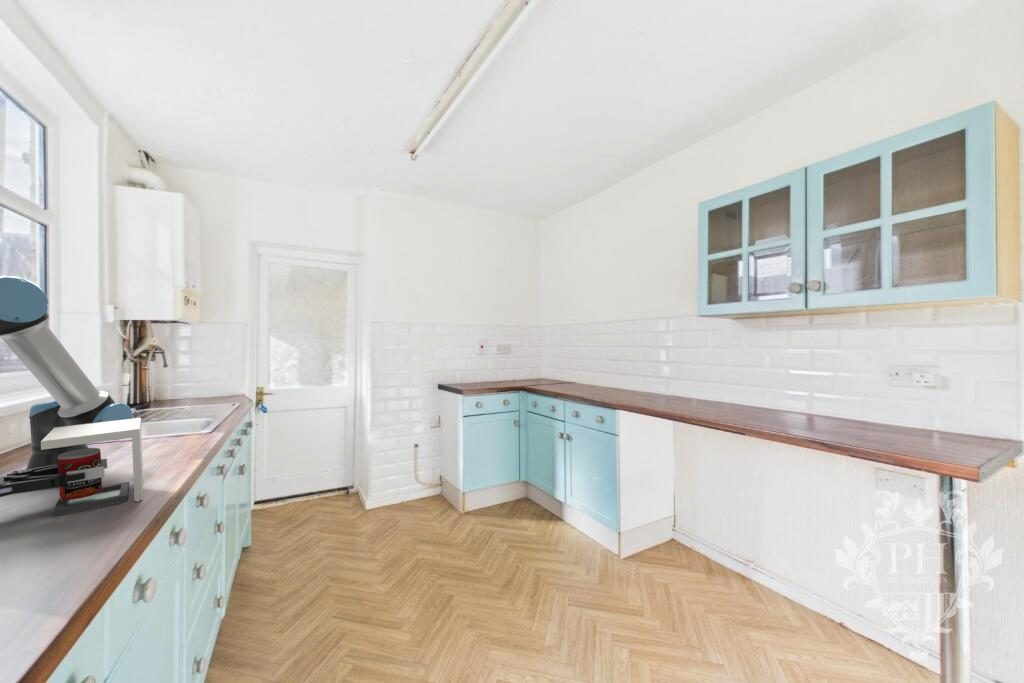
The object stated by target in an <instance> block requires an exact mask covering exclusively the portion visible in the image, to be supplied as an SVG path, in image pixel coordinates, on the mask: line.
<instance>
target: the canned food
mask: <svg viewBox="0 0 1024 683" xmlns="http://www.w3.org/2000/svg"><path fill="white" fill-rule="evenodd" d="M101 454H102V453H101V448H97V447H88V448H86V449H78V450H73V451H68V452H65V453H62V454H60V455H58V474H66V475H67V472H69V471H76V470H82V469H88V468H94V467H100V466H101V459H102V455H101ZM102 479H103V477H101V478H95V479H90V480H84V481H78V482H73V483H67V482H66V487H64V488H61V487H59V488H58V493H59V494H58V495H59V498H61V499H63V500H73V499H79V498H84V497H88V496H91V495H94V494H96V493H98V492H100V491H101V488H102V486H103V481H102Z"/></svg>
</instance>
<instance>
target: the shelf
mask: <svg viewBox="0 0 1024 683" xmlns="http://www.w3.org/2000/svg"><path fill="white" fill-rule="evenodd" d="M124 439H131V445H132V446H131V447H132V450H131V451H132V471H133V472H132V473H133V493H134V494H133V496H134V502H135V501H137V500H142V499H143V497H144V496H143V495H144V467H143V466H144V465H143V464H144V461H143V438H142V418H141V417H136V418H135V417H133V419H126V420H117V421H108V422H99V423H91V424H82V425H73V426H64V427H56V428H54V429H53V430H52V431H51V432H50V433H49V434H48V435H47V436H46V437H45V438H44V439H43V440H42V441H41V450H44V449H52V448H59V447H66V446H73V445H81V444H87V445H88V444H96V443H102V442H110V441H116V440H124ZM142 501H143V500H142Z"/></svg>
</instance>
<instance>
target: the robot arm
mask: <svg viewBox="0 0 1024 683" xmlns="http://www.w3.org/2000/svg"><path fill="white" fill-rule="evenodd" d="M48 305H49V299H48V296H47V294H46V292H45V291H44V290H43V289H42V288H41V287H40V286H39V285H37V284H36V283H34V282H33V281H31V280H29V279H26V278H22V277H19V276H13V275H11V276H9V275H4V274H3V275H2V274H0V339H2V340H3V342H5V344H6V345H7V346H8V347H9V348H10V350H12V352H13V353H14V354H15V356H17V358H18V359H19V360H20V361H21V362H22V364H23V365H25V367H26V368H27V369H28V370H29V372H30V373H31V374H32V375H33V377H35V379H36V380H37V381H38V382H39V383H40V385H41V386H42V387H43V388H44V389H45V390H46V392H48V393H49V395H50V396H51V397H52V398H53V399H54V400H52V401H47V402H45V401H44V402H41V403H40V402H39V403H35V404H33V405H31V406H30V409H29V415H28V419H29V426H30V443H31V453H30V456H29V459H28V463H27V466H26V468H25V469H20V470H13V471H11V472H10V473H6V475H4V476H3V475H2V476H0V498H2V497H7V496H10V495H17V494H23V493H24V494H25V493H29V492H30V493H31V492H37V491H44V490H52V489H59V487H61V488H64V487H66V482H67V483H73V482H78V481H84V480H90V479H95V478H101V477H102V478H104V477H105V470H106V469H108V458H107V457H103V458H101V466H100V467H94V468H88V469H82V470H76V471H69V472H67V475H66V474H58V455H60V454H62V453H65V452H68V451H73V450H78V449H86V448H89V446H88V444H81V445H73V446H66V447H59V448H52V449H44V450H41V441H42V440H43V439H44V438H45V437H46V436H47V435H48V434H49V433H50V432H51V431H52V430H53V429H54V428H56V427H64V426H73V425H82V424H91V423H99V422H108V421H117V420H126V419H134V414H133V410H132V409H131V407H130V406H129V405H127V404H126V403H123V402H115V400H114V399H113V398H112V396H111V395H110V394H109V393H108V392H107V391H105V390H99V389H97V388H96V386H95V385H94V384H93V382H92V381H91V380H90V378H89V377H88V376H87V375H86V373H85V372H84V371H83V370H82V369H81V367H80V366H79V364H78V363H77V362H76V360H74V358H73V357H72V356H71V354H70V353H69V352H68V350H67V349H66V347H65V346H64V345H63V344H62V343H61V341H60V340H59V338H58V337H57V336H56V335H55V334H54V333H53V331H52V330H51V328H50V327H49V325H47V322H48V320H49V319H50V314H48V313H47V311H48V308H49V307H48Z"/></svg>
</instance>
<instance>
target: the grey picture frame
mask: <svg viewBox="0 0 1024 683" xmlns="http://www.w3.org/2000/svg"><path fill="white" fill-rule="evenodd" d="M128 491H130V481H125V482H119V483H115V484H108V485H102V488H101V491H100V492H98V493H96V494H94V495H91V496H88V497H84V498H79V499H73V500H63V499H61V498H60V497H59V498H58V501H56V504H55V506H54V507H53V509H52V516H53V517H57V516H63V515H67V514H72V513H76V512H75V511H77V512H80V511H79V510H82V511H84V510H83V509H86V510H89V509H88V508H91V509H94V508H93V507H96V508H99V507H98V506H101V507H103V505H105V506H108V505H107V504H110V505H113V504H112V503H115V504H118V503H117V502H120V503H123V502H122V501H124V502H127V501H128V499H129V492H128ZM127 498H128V499H127ZM126 500H127V501H126Z"/></svg>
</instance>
